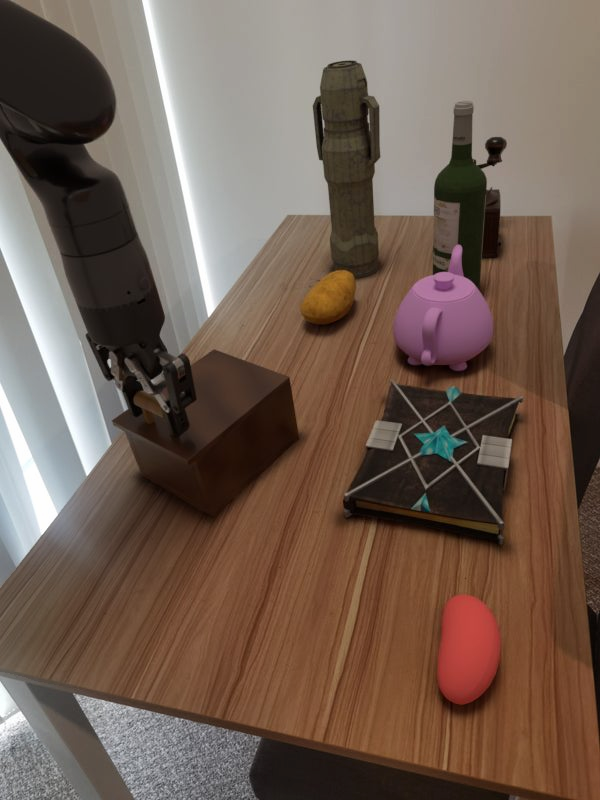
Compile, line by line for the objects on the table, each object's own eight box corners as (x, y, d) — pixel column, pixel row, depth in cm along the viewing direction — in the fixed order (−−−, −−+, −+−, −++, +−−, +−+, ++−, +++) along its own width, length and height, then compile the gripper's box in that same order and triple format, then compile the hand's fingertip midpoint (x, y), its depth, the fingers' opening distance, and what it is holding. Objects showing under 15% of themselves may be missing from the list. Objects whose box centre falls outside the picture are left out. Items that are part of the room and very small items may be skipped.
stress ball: (517, 647, 54) (501, 583, 53) (499, 718, 46) (481, 644, 45) (460, 644, 56) (444, 583, 56) (434, 711, 49) (415, 641, 48)
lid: (189, 466, 63) (177, 429, 60) (113, 425, 70) (99, 391, 67) (290, 381, 72) (284, 347, 69) (215, 354, 80) (207, 321, 77)
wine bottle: (422, 291, 105) (423, 105, 87) (457, 276, 108) (465, 94, 90) (454, 307, 99) (462, 112, 81) (489, 292, 102) (505, 100, 84)
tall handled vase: (376, 282, 110) (366, 67, 89) (318, 275, 115) (296, 70, 94) (393, 261, 116) (388, 56, 95) (338, 255, 121) (321, 59, 100)
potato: (368, 299, 105) (366, 263, 101) (335, 340, 96) (331, 302, 92) (329, 294, 108) (325, 259, 104) (293, 332, 99) (287, 295, 95)
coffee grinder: (501, 258, 111) (510, 158, 101) (440, 258, 114) (442, 161, 103) (499, 225, 123) (507, 132, 112) (444, 226, 126) (447, 136, 115)
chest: (213, 517, 69) (196, 460, 63) (141, 475, 76) (120, 421, 70) (299, 438, 78) (290, 382, 72) (228, 407, 85) (215, 354, 80)
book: (390, 400, 82) (389, 370, 79) (520, 416, 76) (524, 385, 73) (343, 518, 66) (339, 486, 63) (502, 550, 60) (507, 517, 57)
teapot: (414, 311, 100) (413, 240, 92) (502, 320, 95) (509, 245, 87) (377, 379, 86) (373, 302, 78) (478, 394, 81) (485, 313, 73)
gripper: (38, 287, 58) (94, 420, 68) (130, 322, 50) (178, 466, 60) (100, 257, 62) (144, 385, 73) (194, 284, 55) (229, 424, 65)
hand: (160, 421), depth 66 cm, fingers open, 6 cm apart
